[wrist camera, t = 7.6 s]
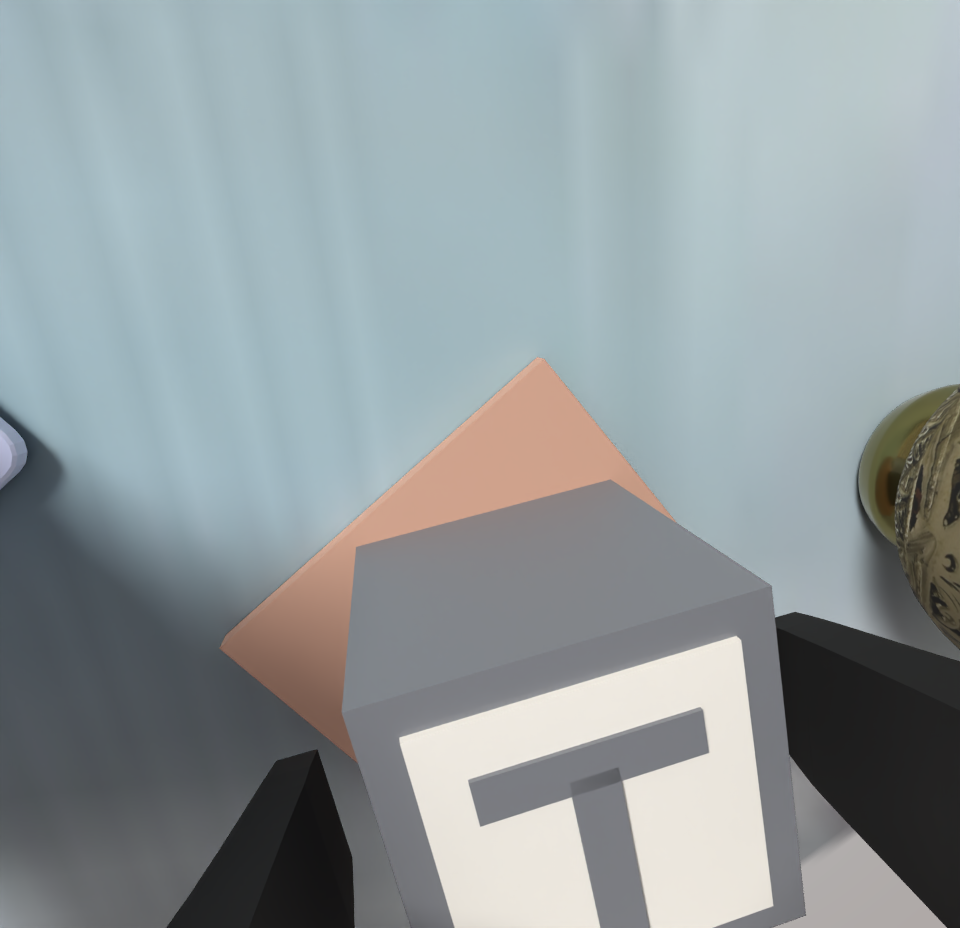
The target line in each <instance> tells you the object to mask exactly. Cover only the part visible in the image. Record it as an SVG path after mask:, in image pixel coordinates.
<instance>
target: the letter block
mask: <svg viewBox="0 0 960 928" xmlns="http://www.w3.org/2000/svg"><path fill="white" fill-rule="evenodd" d="M342 715H343V718H344V721H345V724H346V728H347V731H348V734H349V737H350V740H351V743H352V746H353V749H354V752H355V756H356V759H357V762H358V765H359V768H360V771H361V774H362V777H363V780H364V783H365V787H366V790H367V793H368V796H369V799H370V802H371V805H372V808H373V811H374V815H375V818H376V821H377V824H378V827H379V830H380V833H381V836H382V839H383V842H384V846H385V849H386V852H387V855H388V858H389V861H390V864H391V867H392V870H393V874H394V877H395V880H396V883H397V886H398V889H399V892H400V895H401V898H402V901H403V905H404V908H405V911H406V914H407V917H408V920H409V923H410V926H411V928H772V927H775V926H778V925H781V924H783V923H786V922H789V921H792V920H794V919H797V918H800V917H803V916H806V914H805V913H806V912H805V902H804V893H803V883H802V874H801V864H800V854H799V845H798V835H797V826H796V816H795V806H794V797H793V787H792V777H791V768H790V758H789V749H788V739H787V729H786V720H785V710H784V701H783V691H782V681H781V672H780V662H779V653H778V643H777V633H776V624H775V614H774V605H773V595H772V586H771V585H770V584H768V583H767V582H765V581H764V580H762V579H761V578H759V577H757V576H756V575H754V574H753V573H751V572H750V571H748V570H747V569H745V568H744V567H742V566H741V565H739V564H738V563H736V562H735V561H733V560H732V559H730V558H729V557H727V556H726V555H724V554H723V553H721V552H720V551H718V550H717V549H715V548H714V547H712V546H711V545H709V544H708V543H706V542H705V541H703V540H702V539H700V538H699V537H697V536H695V535H694V534H692V533H691V532H689V531H688V530H686V529H685V528H683V527H682V526H680V525H679V524H677V523H676V522H674V521H673V520H671V519H670V518H668V517H667V516H665V515H664V514H662V513H661V512H659V511H658V510H656V509H655V508H653V507H652V506H650V505H649V504H647V503H646V502H644V501H643V500H641V499H640V498H638V497H637V496H635V495H633V494H632V493H630V492H629V491H627V490H626V489H624V488H623V487H621V486H620V485H618V484H617V483H615V482H614V481H612V480H611V479H610V480H606V481H602V482H599V483H595V484H591V485H587V486H584V487H580V488H576V489H572V490H569V491H565V492H561V493H557V494H554V495H550V496H546V497H542V498H538V499H535V500H531V501H527V502H523V503H520V504H516V505H512V506H508V507H505V508H501V509H497V510H493V511H490V512H486V513H482V514H478V515H474V516H471V517H467V518H463V519H459V520H456V521H452V522H448V523H444V524H441V525H437V526H433V527H429V528H425V529H422V530H418V531H414V532H410V533H407V534H403V535H399V536H395V537H392V538H388V539H384V540H380V541H377V542H373V543H369V544H365V545H361V546H358V547H356V554H355V565H354V576H353V588H352V599H351V611H350V622H349V634H348V645H347V656H346V668H345V679H344V691H343V702H342Z"/></svg>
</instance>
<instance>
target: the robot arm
mask: <svg viewBox="0 0 960 928" xmlns="http://www.w3.org/2000/svg"><path fill="white" fill-rule="evenodd" d="M26 459H27V448H26V445H25V442H24V440H23V439H22V437H21V436H20V435H19V434H18V432H17V431H16V430H15V429H14V428H12V427H11V426H10V425H9V424H8V423H7V422H5V421H4V420H3V419H2V418H1V417H0V489H1V488H3V487H4V486H5V485H6V484H7V483H8V482H9V481H10V480H11V479H12V478H13V477H15V476H16V475H17V474H18V473H19V472H20V471H21V469H22V468H23V466H24V465H25V463H26ZM775 624H776V633H777V643H778V653H779V662H780V672H781V681H782V691H783V701H784V710H785V720H786V729H787V739H788V749H789V755H790V756H791V757H792V759H793V760H794V761H795V763H796V764H797V765H798V767H799V768H800V769H801V770H802V772H803V773H804V774H805V776H806V777H807V778H808V780H809V781H810V782H811V783H812V785H813V786H814V787H815V788H816V789H817V790H818V791H819V793H820V794H821V795H822V796H823V797H824V798H825V799H826V800H827V801H828V802H829V803H830V804H831V806H832V807H833V808H834V809H835V810H836V811H837V812H838V813H839V814H840V815H841V816H842V817H843V818H844V819H845V821H846V822H847V823H848V824H849V825H850V826H851V827H852V828H853V829H854V830H855V831H856V832H857V833H858V834H859V835H860V836H861V838H862V839H863V840H864V841H865V842H866V843H867V844H868V845H869V846H870V847H871V848H872V849H873V850H874V851H875V852H876V853H877V854H878V855H879V856H880V858H882V860H883V861H884V862H885V863H886V864H887V865H888V866H889V867H890V868H891V869H892V870H893V871H894V872H895V873H896V874H897V875H898V876H899V877H900V878H901V880H903V882H904V883H905V884H906V885H907V886H908V887H909V888H910V889H911V890H912V891H913V892H914V893H915V894H916V895H917V896H918V897H919V899H920V900H922V902H923V903H924V904H925V905H926V906H927V907H928V908H929V909H930V910H931V911H932V912H933V913H934V914H935V915H936V916H937V917H938V919H939V920H940V921H941V922H942V923H943V924H944V925H945V926H946V927H947V928H960V661H956V660H953V659H950V658H946V657H943V656H940V655H936V654H933V653H930V652H927V651H923V650H920V649H917V648H914V647H911V646H907V645H904V644H901V643H898V642H895V641H892V640H888V639H885V638H882V637H879V636H876V635H873V634H869V633H866V632H863V631H860V630H857V629H854V628H850V627H847V626H844V625H841V624H837V623H834V622H831V621H827V620H824V619H820V618H817V617H813V616H809V615H805V614H801V613H797V612H793V613H790V614H786V615H783V616H779V617H776V618H775ZM167 928H354V890H353V864H352V855H351V852H350V849H349V846H348V843H347V840H346V837H345V834H344V831H343V827H342V824H341V821H340V818H339V815H338V812H337V809H336V806H335V803H334V799H333V796H332V793H331V790H330V787H329V784H328V781H327V778H326V775H325V772H324V768H323V765H322V762H321V759H320V756H319V753H318V750H317V749H316V750H313V751H309V752H306V753H302V754H299V755H295V756H292V757H288V758H285V759H281V760H278V761H276V762H275V764H274V765H273V767H272V768H271V770H270V771H269V773H268V775H267V776H266V778H265V779H264V781H263V782H262V784H261V785H260V787H259V788H258V790H257V792H256V793H255V795H254V796H253V798H252V799H251V801H250V803H249V804H248V806H247V807H246V809H245V811H244V812H243V814H242V815H241V817H240V818H239V820H238V822H237V823H236V825H235V826H234V828H233V829H232V831H231V833H230V834H229V836H228V837H227V839H226V841H225V842H224V844H223V845H222V847H221V848H220V850H219V851H218V853H217V854H216V856H215V857H214V859H213V860H212V862H211V863H210V865H209V866H208V868H207V869H206V871H205V872H204V874H203V876H202V877H201V879H200V880H199V882H198V883H197V885H196V886H195V888H194V889H193V891H192V892H191V894H190V895H189V897H188V898H187V900H186V901H185V902H184V904H183V905H182V907H181V908H180V909H179V911H178V912H177V914H176V915H175V916H174V918H173V919H172V921H171V922H170V923H169V925H168V926H167Z"/></svg>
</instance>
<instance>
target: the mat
mask: <svg viewBox="0 0 960 928" xmlns="http://www.w3.org/2000/svg"><path fill="white" fill-rule="evenodd" d="M610 479H611V480H612V481H614V482H615V483H617V484H618V485H620V486H621V487H623V488H624V489H626V490H627V491H629V492H630V493H632V494H633V495H635V496H637V497H638V498H640V499H641V500H643V501H644V502H646V503H647V504H649V505H650V506H652V507H653V508H655V509H656V510H658V511H659V512H661V513H662V514H664V515H665V516H667V517H668V518H670V519H671V520H673V521H674V522H676V521H675V520H674V519H673V518H672V516H671V515H670V514H669V513H668V512H667V510H666V509H665V508H664V507H663V505H662V504H661V503H660V502H659V500H658V499H657V498H656V497H655V495H654V494H653V493H652V492H651V490H650V489H649V488H648V487H647V486H646V484H645V483H644V482H643V481H642V479H641V478H640V477H639V476H638V474H637V473H636V472H635V471H634V469H633V468H632V467H631V466H630V464H629V463H628V462H627V461H626V460H625V458H624V457H623V456H622V455H621V453H620V452H619V451H618V450H617V448H616V447H615V446H614V445H613V443H612V442H611V441H610V440H609V438H608V437H607V436H606V435H605V434H604V432H603V431H602V430H601V429H600V427H599V426H598V425H597V424H596V422H595V421H594V420H593V419H592V417H591V416H590V415H589V414H588V412H587V411H586V410H585V409H584V408H583V406H582V405H581V404H580V403H579V401H578V400H577V399H576V398H575V396H574V395H573V394H572V393H571V391H570V390H569V389H568V388H567V386H566V385H565V384H564V383H563V382H562V380H561V379H560V378H559V377H558V375H557V374H556V373H555V372H554V370H553V369H552V368H551V367H550V365H549V364H548V363H547V362H546V360H545V359H543V358H538V357H537V358H536V359H535V360H534V361H532V362H531V363H530V364H529V365H528V366H527V367H526V368H525V369H524V370H522V371H521V372H520V373H519V374H518V375H517V376H516V377H515V378H513V379H512V380H511V381H510V382H509V383H508V384H507V385H506V386H504V387H503V388H502V389H501V390H500V391H499V392H498V393H497V394H495V395H494V396H493V397H492V398H491V399H490V400H489V401H488V402H486V403H485V404H484V405H483V406H482V407H481V408H480V409H479V410H478V411H476V412H475V413H474V414H473V415H472V416H471V417H470V418H469V419H467V420H466V421H465V422H464V423H463V424H462V425H461V426H460V427H458V428H457V429H456V430H455V431H454V432H453V433H452V434H451V435H449V436H448V437H447V438H446V439H445V440H444V441H443V442H442V443H441V444H439V445H438V446H437V447H436V448H435V449H434V450H433V451H432V452H430V453H429V454H428V455H427V456H426V457H425V458H424V459H423V460H421V461H420V462H419V463H418V464H417V465H416V466H415V467H414V468H412V469H411V470H410V471H409V472H408V473H407V474H406V475H405V476H404V477H402V478H401V479H400V480H399V481H398V482H397V483H396V484H395V485H393V486H392V487H391V488H390V489H389V490H388V491H387V492H386V493H384V494H383V495H382V496H381V497H380V498H379V499H378V500H377V501H375V502H374V503H373V504H372V505H371V506H370V507H369V508H368V509H366V510H365V511H364V512H363V513H362V514H361V515H360V516H359V517H358V518H356V519H355V520H354V521H353V522H352V523H351V524H350V525H349V526H347V527H346V528H345V529H344V530H343V531H342V532H341V533H340V534H338V535H337V536H336V537H335V538H334V539H333V540H332V541H331V542H329V543H328V544H327V545H326V546H325V547H324V548H323V549H322V550H321V551H319V552H318V553H317V554H316V555H315V556H314V557H313V558H312V559H310V560H309V561H308V562H307V563H306V564H305V565H304V566H303V567H301V568H300V569H299V570H298V571H297V572H296V573H295V574H294V575H292V576H291V577H290V578H289V579H288V580H287V581H286V582H285V583H283V584H282V585H281V586H280V587H279V588H278V589H277V590H276V591H275V592H273V593H272V594H271V595H270V596H269V597H268V598H267V599H266V600H264V601H263V602H262V603H261V604H260V605H259V606H258V607H257V608H255V609H254V610H253V611H252V612H251V613H250V614H249V615H248V616H246V617H245V618H244V619H243V620H242V621H241V622H240V623H239V624H238V625H236V626H235V627H234V628H233V629H232V630H231V631H230V632H229V633H227V634H226V635H225V637H224V639H223V642H222V644H221V646H220V648H219V649H221V650H222V651H223V652H224V653H225V654H227V655H228V656H229V657H230V658H231V659H233V660H234V661H235V662H236V663H237V664H239V665H240V666H241V667H242V668H243V669H245V670H246V671H247V672H248V673H249V674H251V675H252V676H253V677H254V678H255V679H257V680H258V681H259V682H260V683H261V684H263V685H264V686H265V687H266V688H268V689H269V690H270V691H271V692H272V693H274V694H275V695H276V696H277V697H278V698H280V699H281V700H282V701H283V702H284V703H286V704H287V705H288V706H289V707H290V708H292V709H293V710H294V711H295V712H296V713H298V714H299V715H300V716H301V717H302V718H304V719H305V720H306V721H307V722H308V723H310V724H311V725H312V726H313V727H314V728H316V729H317V730H318V731H319V732H320V733H322V734H323V735H324V736H325V737H326V738H328V739H329V740H330V741H331V742H333V743H334V744H335V745H336V746H337V747H339V748H340V749H341V750H342V751H343V752H345V753H346V754H347V755H348V756H349V757H351V758H352V759H353V760H354V761H355V762H357V759H356V756H355V752H354V749H353V746H352V743H351V740H350V737H349V734H348V731H347V728H346V724H345V721H344V718H343V715H342V702H343V691H344V679H345V668H346V656H347V645H348V634H349V622H350V611H351V599H352V588H353V576H354V565H355V554H356V547H358V546H361V545H365V544H369V543H373V542H377V541H380V540H384V539H388V538H392V537H395V536H399V535H403V534H407V533H410V532H414V531H418V530H422V529H425V528H429V527H433V526H437V525H441V524H444V523H448V522H452V521H456V520H459V519H463V518H467V517H471V516H474V515H478V514H482V513H486V512H490V511H493V510H497V509H501V508H505V507H508V506H512V505H516V504H520V503H523V502H527V501H531V500H535V499H538V498H542V497H546V496H550V495H554V494H557V493H561V492H565V491H569V490H572V489H576V488H580V487H584V486H587V485H591V484H595V483H599V482H602V481H606V480H610ZM357 763H358V762H357Z"/></svg>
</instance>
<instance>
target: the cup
mask: <svg viewBox="0 0 960 928" xmlns="http://www.w3.org/2000/svg"><path fill="white" fill-rule="evenodd" d="M858 484H859V493H860V498H861V501H862V504H863V507H864V509H865V511H866V513H867V515H868V517H869V518H870V520H871V521H872V523H873V524H874V525H875V526H876V528H877V529H878V530H879V531H880V532H881V534H882V535H883V536H884V537H885V538H886V539H887V540H888V541H890V542H891V543H892V544H893V545H895V546H896V547H897V548H898V553H899V557H900V561H901V564H902V567H903V570H904V572H905V575H906V577H907V579H908V581H909V583H910V586H911V588H912V590H913V592H914V594H915V596H916V598H917V599H918V601H919V602H920V604H921V606H922V607H923V609H924V610H925V611H926V613H927V614H928V615H929V617H930V618H931V619H932V621H933V622H934V623H935V624H936V626H937V627H938V628H939V629H940V630H941V631H942V633H943V634H944V635H945V636H946V637H947V638H948V639H949V640H950V641H951V642H952V643H953V644H954V645H955V646H956V647H957V648H958V649H959V650H960V384H955V385H949V386H944V387H941V388H937V389H934V390H931V391H927V392H925V393H922V394H920V395H917V396H915V397H913V398H911V399H909V400H907V401H905V402H904V403H902V404H901V405H899V406H898V407H896V408H895V409H894V410H893V411H891V412H890V413H889V414H888V415H887V416H886V417H885V418H884V419H883V420H882V421H881V423H880V424H879V425H878V426H877V428H876V429H875V431H874V432H873V433H872V435H871V437H870V439H869V441H868V443H867V445H866V447H865V449H864V452H863V455H862V459H861V463H860V468H859V479H858Z"/></svg>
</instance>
